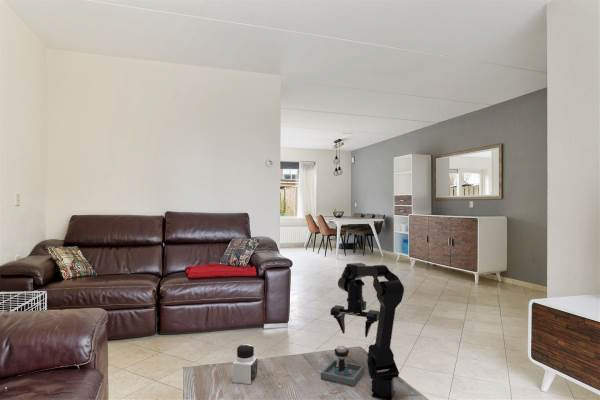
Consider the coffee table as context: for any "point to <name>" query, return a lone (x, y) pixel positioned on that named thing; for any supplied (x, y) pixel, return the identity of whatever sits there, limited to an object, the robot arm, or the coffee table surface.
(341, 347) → the push button
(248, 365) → the medicine bottle
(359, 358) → the coffee table surface
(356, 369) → the charcoal tray
